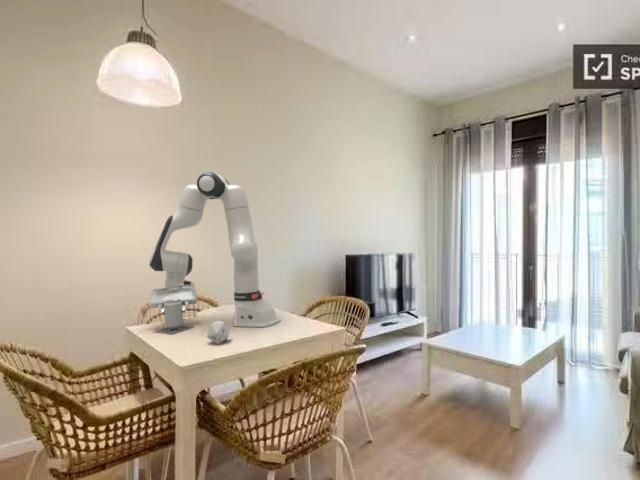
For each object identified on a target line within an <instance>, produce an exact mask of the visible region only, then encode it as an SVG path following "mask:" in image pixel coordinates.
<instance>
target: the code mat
mask: <svg viewBox="0 0 640 480" xmlns="http://www.w3.org/2000/svg"><path fill="white" fill-rule="evenodd" d="M193 328H194V326H192V325H184V324H182V326H180V327H177V328H167V327H164V328H160V329H157V330H154V331H153V333H158V334H165V335H172V336H173V335H176V334H178V333H181V332H184V331H187V330H190V329H193Z"/></svg>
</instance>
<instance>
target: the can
mask: <svg viewBox="0 0 640 480" xmlns="http://www.w3.org/2000/svg"><path fill="white" fill-rule="evenodd" d="M182 307H183V305H182V302H181V301H180V299H178V300H166V301H165V304H164V307H163V309H164V326H165V328H177V327H180V326H182V325H184V315H183V313H182Z"/></svg>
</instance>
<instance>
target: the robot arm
mask: <svg viewBox="0 0 640 480" xmlns="http://www.w3.org/2000/svg"><path fill="white" fill-rule="evenodd" d="M219 199H220V200H221V202H222V204H223V209H224V215H225V219H226V224H227V226H226V227H227V233H228V240H229V247H230V254H231V256H232V258H233V259H234V262H233V264H234V265H233V266H234V267H233V268H234V269H233V282H234V283H233V284H234V292H233V299H234V313H233V320H232V323H233V327H245V328H246V327H248V328H266V327H270V326H273V325H275V324H278V323H280V322H281V320H282V319H281V317H277V316H276V311H275V307H274V306H272V305H271V304H269V302H267V301H266V300H265V299H264V298H263V295H264V293H265V292H261V290H260V289H259V288H260V287H259V263H258V262H259V260H258V259H259V257H258V256H259V255H258V253H259V252H258V246H257V243H256V242H255V237H254V231H253V223H252V217H251V212H250V208H249V203H248V199H247V196H246V193H245V191H244V189H243V187H242V186H240V185H238V184H230V183H229V181H228V180H227V179H226V178H225V177H223V176H222V175H220V174H218V173H215V172H212V171H211V172H210V171H209V172H204V173H202V174H200V175H199V176H198V178H197V180H196V184H188V185H186V186H185V187H184V189H183V192H182V194H181V197H180V199H179V204H178V207H177V210H176V212H175V213H174V214H173V215H170V216H169V217H168V218H167V219H166V222H165V224H164V225H163V228H162V231H161V233H160V235H159V237H158V240H157V242H156V245H155V247H154V249H153V251H152V253H151V254H150V256H149V260H148V265H149V267H150V268H151V269H152V270H153V271H154V272H165V280H164V288H155V289H153V290H151V291H150V294H149V297H150V299H149V301H148V302H149V306H150V307H151V309H156V308H158V309H159V311H160V316H163V315H164V304H165V301H166V300H178V299H180V301H181V302H182V313H186V312H187V309H188V308H189V307H190V305H196V304H197V303H198V301H199V300H198V294H197V293H198V292H197V289H196V286H195V283H194V281H190V280H185V278H186V277H187V276H188V275H189V274H190V273H191V272H192V270H193V257H192V256H191V254H190V253H187V252H186V253H185V252H180V251H172V250H167V249H166V248H167V245H168V243H169V240H170V238H171V236H172V234H173V233H174V232H176V231H180V230H182V229H183V230H184V229H189V228H193V227H196V226H197V225H199V224H200V222H202V221H201V220H202V218H203V215H204V210H205V205H206V203H207V201H208V200H219Z"/></svg>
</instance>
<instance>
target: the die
mask: <svg viewBox="0 0 640 480" xmlns="http://www.w3.org/2000/svg"><path fill="white" fill-rule="evenodd" d="M208 328H209V329H208V331H207V335H206V338H207V339H208V340H211V341H212V342H213V343H215V344H217V345H220V344H222V343H224V342H226V341H228V338H229V337H230V336H229V335H230V333H231V332H230V331H231V327H230V326H229V325H228V324H227V323H225V322H224V321H221V320H217V321H214V322H212V323H210V324H209V327H208Z"/></svg>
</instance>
